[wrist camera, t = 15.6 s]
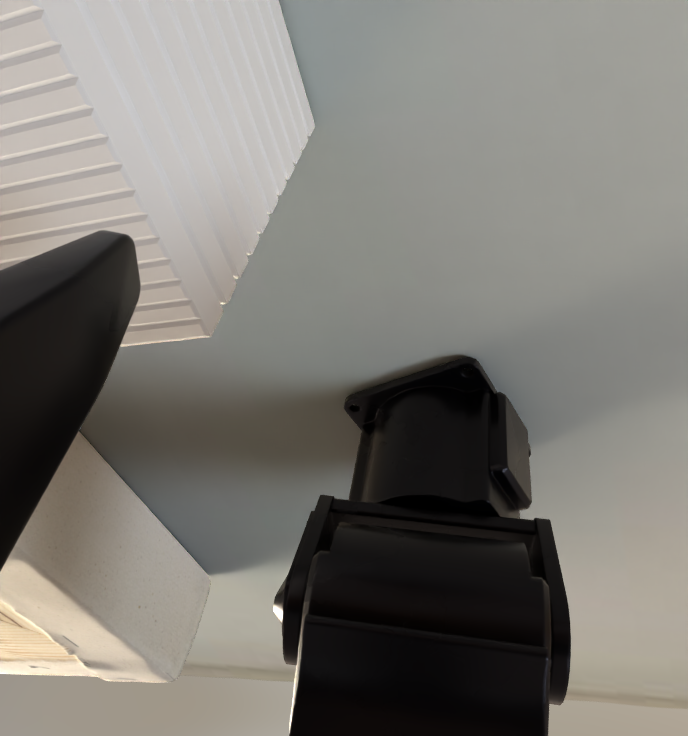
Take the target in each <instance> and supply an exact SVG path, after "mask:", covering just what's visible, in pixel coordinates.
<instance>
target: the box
mask: <svg viewBox="0 0 688 736" xmlns="http://www.w3.org/2000/svg"><path fill="white" fill-rule="evenodd" d="M210 585H211V581H210V578H209V576H208V575H207V573H206V572H205V571H204V570H203V569H202V568H201V566H200V565H199V564H198V563H197V562H196V561H195V560H194V558H193V557H192V556H191V555H190V554H189V553H188V552H187V551H186V550H185V549H184V548H183V546H182V545H181V544H180V543H179V542H178V541H177V540H176V539H175V538H174V536H173V535H172V534H171V533H170V532H169V531H168V530H167V529H166V527H165V526H164V525H163V524H162V523H161V522H160V521H159V520H158V519H157V518H156V516H155V515H154V514H153V513H152V512H151V511H150V510H149V509H148V507H147V506H146V505H145V504H144V503H143V502H142V501H141V500H140V499H139V498H138V496H136V494H135V493H134V492H133V491H132V490H131V489H130V487H129V486H128V485H127V484H126V483H125V482H124V481H123V480H122V479H121V478H120V476H119V475H118V474H117V473H116V472H115V471H114V470H113V469H112V467H111V466H110V465H109V464H108V463H107V462H106V461H105V460H104V459H103V458H102V457H101V455H100V454H99V453H98V452H97V451H96V450H95V449H94V447H93V446H92V445H91V444H90V443H89V442H88V441H87V440H86V438H85V437H84V436H83V435H82V434H81V433H80V432H78V433H77V435H76V437H75V439H74V441H73V442H72V444H71V446H70V448H69V450H68V451H67V453H66V455H65V457H64V458H63V460H62V462H61V464H60V466H59V467H58V469H57V471H56V473H55V475H54V476H53V478H52V480H51V482H50V484H49V485H48V487H47V489H46V491H45V493H44V494H43V496H42V498H41V500H40V502H39V503H38V505H37V507H36V509H35V511H34V512H33V514H32V516H31V518H30V519H29V521H28V523H27V525H26V527H25V528H24V530H23V532H22V534H21V536H20V537H19V539H18V541H17V543H16V545H15V546H14V548H13V550H12V552H11V554H10V555H9V557H8V559H7V561H6V563H5V564H4V566H3V568H2V570H1V571H0V674H29V675H66V676H98V677H99V678H101V679H103V680H106V681H125V682H127V681H131V682H134V681H135V682H173V681H175V680H176V679H177V678H178V677H179V676H180V674H181V671H182V669H183V667H184V664H185V661H186V659H187V656H188V654H189V651H190V649H191V646H192V643H193V640H194V638H195V635H196V633H197V629H198V626H199V623H200V620H201V617H202V614H203V610H204V607H205V604H206V601H207V597H208V594H209V589H210Z"/></svg>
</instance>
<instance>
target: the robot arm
mask: <svg viewBox="0 0 688 736" xmlns="http://www.w3.org/2000/svg"><path fill="white" fill-rule="evenodd" d="M140 289H141V284H140V276H139V269H138V262H137V255H136V248H135V244H134V241H133V239H132V238H131V237H130V236H129V235H127V234H123V233H117V232H112V231H107V230H100V231H97V232H94V233H92V234H89V235H87V236H84V237H82V238H79V239H77V240H74V241H72V242H69V243H67V244H64V245H62V246H59V247H57V248H54V249H52V250H49V251H47V252H45V253H42V254H40V255H37V256H35V257H32V258H30V259H27V260H25V261H22V262H20V263H17V264H15V265H12V266H10V267H7V268H5V269H2V270H0V571H1V570H2V568H3V566H4V564H5V563H6V561H7V559H8V557H9V555H10V554H11V552H12V550H13V548H14V546H15V545H16V543H17V541H18V539H19V537H20V536H21V534H22V532H23V530H24V528H25V527H26V525H27V523H28V521H29V519H30V518H31V516H32V514H33V512H34V511H35V509H36V507H37V505H38V503H39V502H40V500H41V498H42V496H43V494H44V493H45V491H46V489H47V487H48V485H49V484H50V482H51V480H52V478H53V476H54V475H55V473H56V471H57V469H58V467H59V466H60V464H61V462H62V460H63V458H64V457H65V455H66V453H67V451H68V450H69V448H70V446H71V444H72V442H73V441H74V439H75V437H76V435H77V433H78V432H79V430H80V428H81V426H82V424H83V423H84V421H85V419H86V417H87V415H88V414H89V412H90V410H91V408H92V406H93V405H94V403H95V401H96V399H97V397H98V395H99V393H100V392H101V390H102V388H103V386H104V383H105V381H106V379H107V377H108V374H109V372H110V370H111V367H112V365H113V362H114V360H115V357H116V355H117V352H118V350H119V347H120V345H121V342H122V340H123V337H124V335H125V332H126V330H127V327H128V325H129V322H130V320H131V317H132V315H133V312H134V310H135V308H136V305H137V303H138V300H139V296H140ZM465 368H470V369H472V370H468V371H467V370H464V369H465ZM354 404H355V405H358V406H354ZM344 409H345V411H346V412H347V414H348V415H349V416H350V417H351V418H352V420H353V421H354V422H355V423H356V424H357V426H358V427H359V428H360V429H361V437H360V442H359V447H358V452H357V458H356V463H355V468H354V473H353V479H352V484H351V489H350V494H349V499H348V500H343V499H335V498H334V496H327V495H320V497H319V500H318V503H317V505H316V508H315V511H311V513H310V516H309V519H308V521H307V524H306V527H305V530H304V533H303V535H302V538H301V541H300V543H299V546H298V549H297V552H296V554H295V557H294V560H293V563H292V565H291V568H290V571H289V573H288V575H287V577H286V579H285V580H284V582H283V584H282V586H281V587H280V589H279V591H278V592H277V594H276V596H275V600H274V607H273V610H274V613H275V615H276V616H277V618H278V619H279V621H280V622H281V624H282V636H283V655H284V660H285V662H286V664H291V665H296V674H295V683H294V692H293V700H292V709H291V718H290V734H289V736H548V720H549V719H548V718H549V704H555V705H561V704H562V703H563V701H564V698H565V696H566V691H567V686H568V680H569V672H570V656H571V634H570V617H569V608H568V602H567V596H566V591H565V587H564V582H563V578H562V573H561V568H560V564H559V559H558V554H557V550H556V545H555V540H554V536H553V531H552V527H551V522H550V520H549V519H540V518H534V520H527V519H520V510H523V509H528V508H529V506H530V504H531V503H532V496H531V480H530V465H529V457H530V455H531V449H530V444H529V443H528V433H527V429H526V427H525V426H524V424H523V422H522V421H521V419H520V418H519V416H518V414H517V413H516V411H515V409H514V408H513V406H512V404H511V403H510V401H509V399H508V398H507V396H506V395H505V394H503V393H501V392H497V391H496V389H495V387H494V386H493V384H492V383H491V381H490V379H489V378H488V376H487V374H486V373H485V371H484V370H483V368H482V366H481V365H480V363H479V362H478V361H477V360H476V359H474V358H472V357H464V358H460V359H457V360H454V361H451V362H448V363H445V364H442V365H439V366H436V367H433V368H430V369H427V370H424V371H421V372H418V373H415V374H412V375H409V376H406V377H403V378H400V379H397V380H394V381H391V382H388V383H385V384H382V385H379V386H376V387H373V388H370V389H367V390H364V391H361V392H358V393H355V394H352V395H349V396H348V397H347V398H346V400H345V404H344Z"/></svg>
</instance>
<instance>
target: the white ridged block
mask: <svg viewBox="0 0 688 736" xmlns="http://www.w3.org/2000/svg"><path fill="white" fill-rule="evenodd" d="M314 128H315V123H314V120H313V116H312V113H311V109H310V106H309V103H308V99H307V96H306V92H305V89H304V85H303V82H302V79H301V75H300V72H299V68H298V65H297V62H296V58H295V55H294V51H293V48H292V45H291V41H290V38H289V34H288V31H287V27H286V24H285V21H284V17H283V14H282V10H281V7H280V4H279V0H0V270H2V269H5V268H7V267H10V266H12V265H15V264H17V263H20V262H22V261H25V260H27V259H30V258H32V257H35V256H37V255H40V254H42V253H45V252H47V251H49V250H52V249H54V248H57V247H59V246H62V245H64V244H67V243H69V242H72V241H74V240H77V239H79V238H82V237H84V236H87V235H89V234H92V233H94V232H97V231H100V230H107V231H112V232H117V233H123V234H127V235H129V236H130V237H131V238H132V239H133V241H134V244H135V248H136V255H137V262H138V269H139V276H140V284H141V289H140V296H139V300H138V303H137V305H136V308H135V310H134V312H133V315H132V317H131V320H130V322H129V325H128V327H127V330H126V332H125V335H124V337H123V340H122V342H121V345H120V347H122V346H132V345H141V344H150V343H159V342H168V341H178V340H187V339H196V338H205V337H211V336H212V334H213V332H214V330H215V328H216V326H217V324H218V322H219V320H220V318H221V316H222V314H223V312H224V311H223V309H222V307H221V305H223V304H228V302H229V300H230V298H231V296H232V294H233V292H234V290H235V288H236V286H237V284H236V282H235V279H237V278H241V275H242V273H243V271H244V269H245V267H246V265H247V263H248V261H249V260H248V258H247V255H252V253H253V251H254V249H255V247H256V245H257V243H258V241H259V239H260V238H259V236H258V234H260V233H263V231H264V229H265V227H266V225H267V223H268V221H269V216H268V214H272V213H273V211H274V209H275V207H276V205H277V203H278V201H279V200H278V197H277V196H281V195H282V193H283V191H284V189H285V186H286V184H287V182H286V180H287V179H289V178H290V176H291V174H292V172H293V170H294V168H295V167H294V164H297V162H298V160H299V158H300V156H301V154H302V153H301V150H304V148H305V146H306V144H307V142H308V137H310V136H311V134H312V132H313V130H314Z"/></svg>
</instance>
